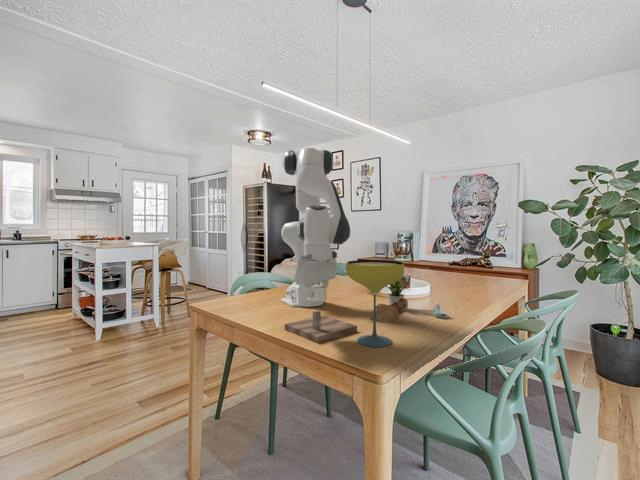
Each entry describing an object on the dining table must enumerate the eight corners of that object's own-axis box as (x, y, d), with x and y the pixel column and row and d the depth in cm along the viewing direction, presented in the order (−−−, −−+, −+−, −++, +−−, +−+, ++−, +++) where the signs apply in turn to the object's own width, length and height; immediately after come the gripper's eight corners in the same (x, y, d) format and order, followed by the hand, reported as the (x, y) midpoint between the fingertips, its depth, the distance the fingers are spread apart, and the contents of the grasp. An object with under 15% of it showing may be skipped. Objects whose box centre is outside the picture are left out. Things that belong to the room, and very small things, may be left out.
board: (284, 329, 116) (284, 307, 116) (323, 320, 128) (323, 299, 127) (317, 343, 102) (317, 317, 102) (357, 331, 114) (357, 308, 113)
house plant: (413, 314, 136) (413, 275, 135) (379, 312, 140) (379, 274, 139) (413, 306, 149) (413, 271, 149) (382, 304, 153) (382, 270, 153)
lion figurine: (405, 319, 130) (405, 296, 129) (409, 322, 124) (410, 299, 124) (368, 319, 129) (368, 296, 128) (371, 323, 123) (371, 299, 123)
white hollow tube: (303, 299, 108) (303, 286, 108) (314, 296, 114) (314, 283, 114) (319, 301, 105) (320, 288, 105) (330, 298, 110) (330, 285, 110)
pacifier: (444, 314, 137) (430, 313, 137) (445, 299, 137) (431, 299, 137) (450, 319, 130) (435, 318, 130) (451, 303, 129) (436, 303, 130)
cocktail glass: (414, 341, 104) (415, 262, 103) (382, 357, 91) (383, 267, 90) (368, 329, 117) (368, 258, 116) (334, 341, 104) (334, 262, 103)
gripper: (307, 256, 98) (307, 302, 99) (339, 252, 116) (339, 291, 116) (290, 255, 102) (290, 299, 102) (324, 252, 119) (324, 290, 119)
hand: (317, 295), depth 109 cm, fingers closed on white hollow tube, 6 cm apart
